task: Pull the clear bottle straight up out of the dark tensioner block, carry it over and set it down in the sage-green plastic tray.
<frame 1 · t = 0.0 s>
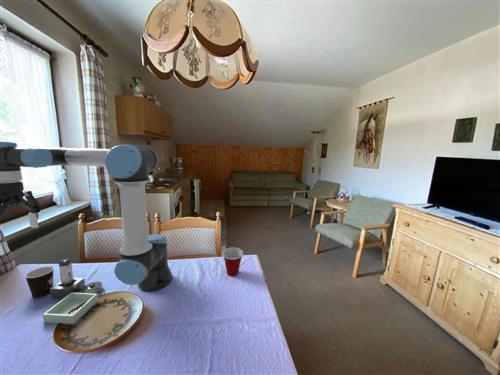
hand: (17, 233, 85), 28 cm above the table, fingers open, 13 cm apart
pulley wheel: (92, 291, 93), on the table
plastic cup: (232, 273, 110), on the table
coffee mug: (46, 291, 93), on the table
clear bottle: (67, 277, 90), in the tensioner block
tray: (73, 311, 82), on the table
tensioner block: (69, 293, 92), on the table
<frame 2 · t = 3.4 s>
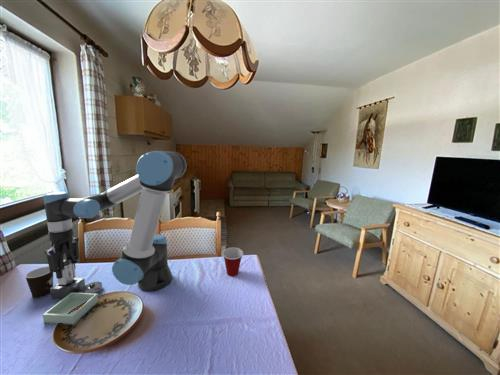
hand: (67, 280, 91), 6 cm above the table, fingers closed on clear bottle, 4 cm apart
clear bottle: (67, 277, 90), in the tensioner block, touching gripper
everything else where it was.
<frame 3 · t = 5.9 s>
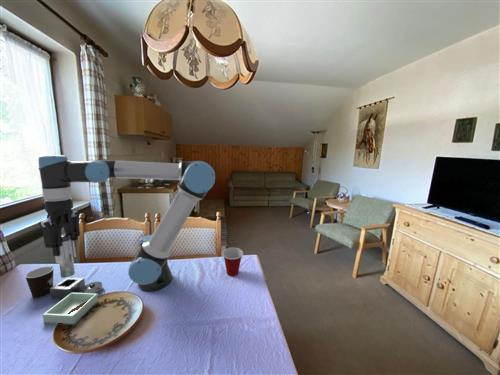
hand: (66, 259, 79), 22 cm above the table, fingers closed on clear bottle, 4 cm apart
clear bottle: (65, 255, 78), point 23 cm above the table, touching gripper
everything else where it was.
when the fingers open (9 cm above the table, at t = 8.6 s): clear bottle drops 2 cm, resting on tray.
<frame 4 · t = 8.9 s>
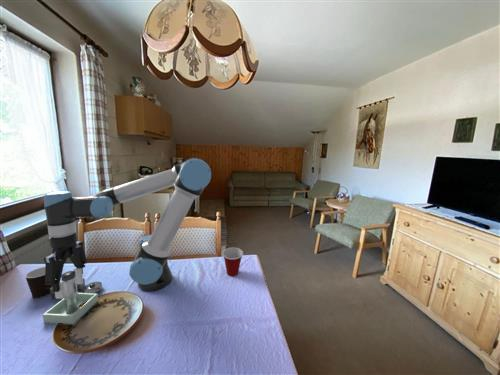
hand: (70, 290, 80), 9 cm above the table, fingers open, 8 cm apart
clear bottle: (70, 292, 80), in the tray, point 8 cm above the table
everything else where it was.
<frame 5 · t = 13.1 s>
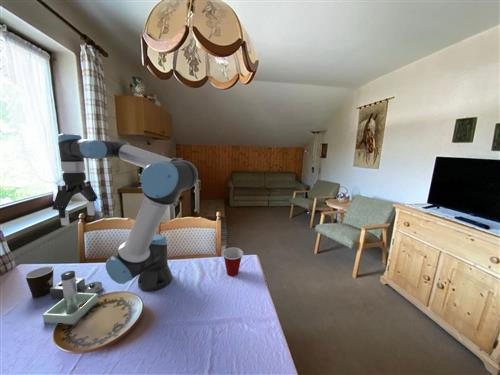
hand: (79, 219, 92), 32 cm above the table, fingers open, 13 cm apart
nothing on the table moved.
at the end: clear bottle inside the target area on the tray (0.1 cm from its centre), point 8.4 cm above the tray's base; clear bottle moved 14.4 cm from its start; the gripper is holding nothing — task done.
